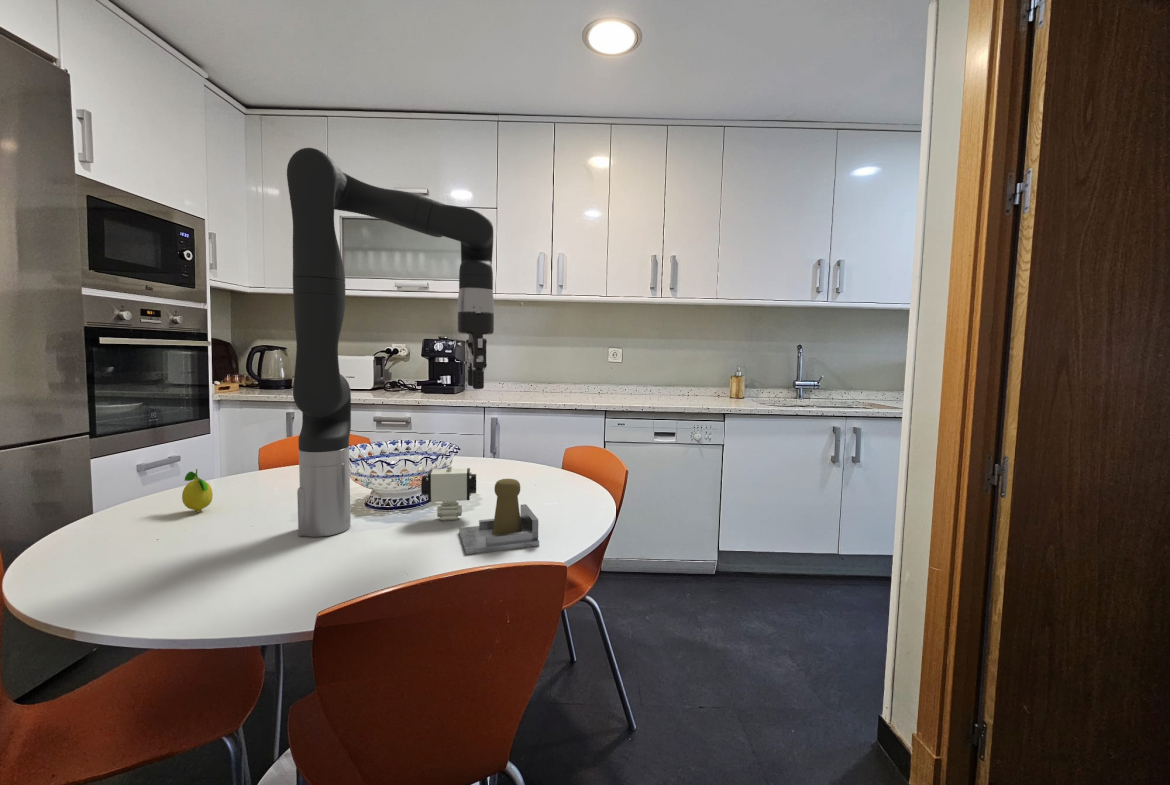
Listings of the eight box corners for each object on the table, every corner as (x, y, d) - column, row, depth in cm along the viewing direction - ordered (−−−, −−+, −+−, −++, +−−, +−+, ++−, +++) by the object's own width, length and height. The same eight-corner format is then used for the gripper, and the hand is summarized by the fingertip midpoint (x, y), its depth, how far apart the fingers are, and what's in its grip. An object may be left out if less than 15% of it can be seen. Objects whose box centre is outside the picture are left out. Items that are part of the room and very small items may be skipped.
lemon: (185, 509, 115) (183, 466, 114) (216, 506, 117) (215, 464, 117) (176, 518, 109) (174, 473, 108) (209, 514, 111) (207, 470, 111)
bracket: (465, 554, 92) (465, 528, 92) (459, 532, 103) (459, 509, 103) (539, 546, 97) (539, 520, 96) (524, 525, 108) (525, 503, 108)
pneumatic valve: (476, 520, 111) (476, 467, 110) (421, 523, 108) (420, 469, 107) (476, 512, 116) (476, 462, 115) (424, 515, 114) (423, 463, 113)
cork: (527, 530, 103) (527, 477, 102) (513, 540, 97) (514, 484, 96) (501, 526, 104) (501, 474, 104) (486, 536, 99) (486, 481, 98)
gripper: (454, 312, 111) (454, 385, 112) (461, 307, 98) (461, 390, 99) (488, 314, 113) (487, 385, 115) (499, 309, 100) (498, 389, 101)
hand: (475, 387), depth 107 cm, fingers open, 8 cm apart
